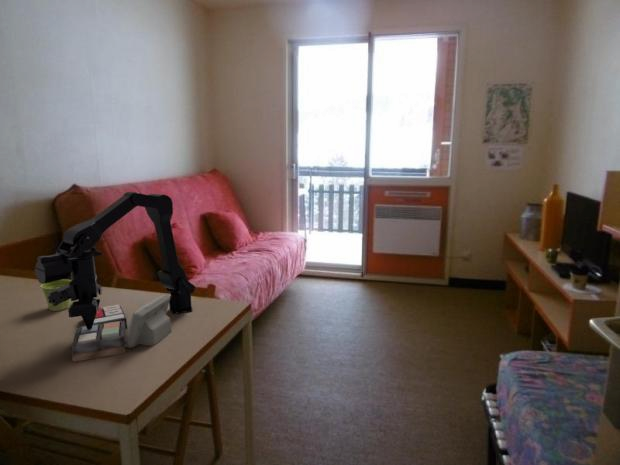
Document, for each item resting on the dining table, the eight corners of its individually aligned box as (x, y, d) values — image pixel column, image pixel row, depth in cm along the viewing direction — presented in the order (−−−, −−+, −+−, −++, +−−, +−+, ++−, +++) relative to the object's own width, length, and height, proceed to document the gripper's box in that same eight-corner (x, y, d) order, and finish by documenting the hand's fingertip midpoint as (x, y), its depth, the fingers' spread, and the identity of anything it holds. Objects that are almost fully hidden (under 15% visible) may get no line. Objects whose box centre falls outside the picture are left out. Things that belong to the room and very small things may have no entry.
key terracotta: (120, 328, 116) (119, 321, 116) (120, 334, 112) (119, 327, 112) (104, 331, 114) (104, 323, 114) (104, 336, 111) (103, 329, 110)
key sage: (119, 334, 111) (118, 326, 110) (119, 340, 107) (118, 332, 107) (103, 336, 109) (102, 329, 109) (102, 342, 106) (101, 335, 105)
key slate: (99, 332, 114) (98, 324, 113) (97, 337, 110) (97, 330, 110) (82, 334, 112) (82, 327, 112) (81, 340, 109) (80, 332, 108)
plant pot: (78, 301, 143) (75, 278, 142) (72, 311, 134) (69, 286, 133) (48, 304, 140) (45, 280, 139) (39, 314, 132) (36, 289, 130)
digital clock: (159, 324, 124) (157, 291, 122) (182, 329, 121) (180, 295, 119) (116, 346, 110) (112, 310, 108) (141, 353, 106) (137, 315, 104)
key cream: (97, 340, 109) (96, 332, 108) (96, 346, 105) (95, 338, 105) (80, 342, 107) (79, 335, 107) (78, 349, 104) (77, 341, 103)
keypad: (125, 331, 119) (124, 318, 118) (125, 352, 106) (123, 338, 106) (79, 338, 114) (78, 325, 113) (72, 361, 102) (71, 347, 101)
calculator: (120, 303, 133) (126, 316, 120) (121, 315, 134) (127, 329, 121) (82, 309, 127) (84, 323, 115) (83, 322, 128) (86, 338, 115)
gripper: (54, 268, 113) (61, 320, 116) (40, 288, 96) (49, 348, 99) (99, 264, 117) (104, 314, 120) (93, 282, 101) (99, 340, 104)
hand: (89, 328), depth 111 cm, fingers closed
